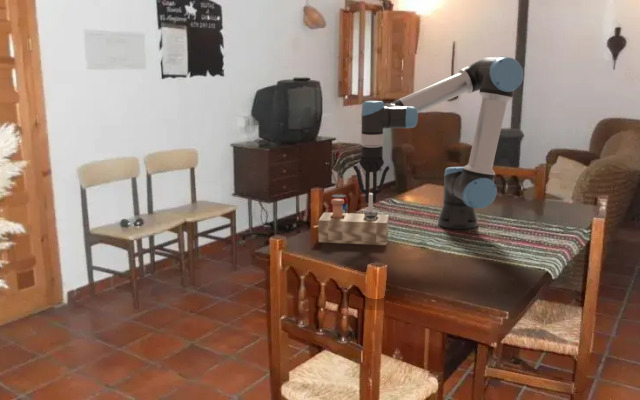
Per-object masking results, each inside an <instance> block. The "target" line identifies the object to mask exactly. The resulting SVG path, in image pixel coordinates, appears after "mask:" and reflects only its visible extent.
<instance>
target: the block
mask: <svg viewBox="0 0 640 400" xmlns="http://www.w3.org/2000/svg"><path fill="white" fill-rule="evenodd" d="M389 217H390V216H389V214H380V213H379V214H378V213H377V216H376V220H366V216H364V213H351V212H350V213H343V217H342V219H335V218H333V213H330V211H329V212H326V211H325V212H323V213H322V215H321V216H320V217H319V219H318V228H317V229H318V243H329V244H330V243H333V244H350V245H351V244H352V245H353V244H354V245H372V246H373V245H374V246H387V243H388V238H389V220H390V219H389Z"/></svg>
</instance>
